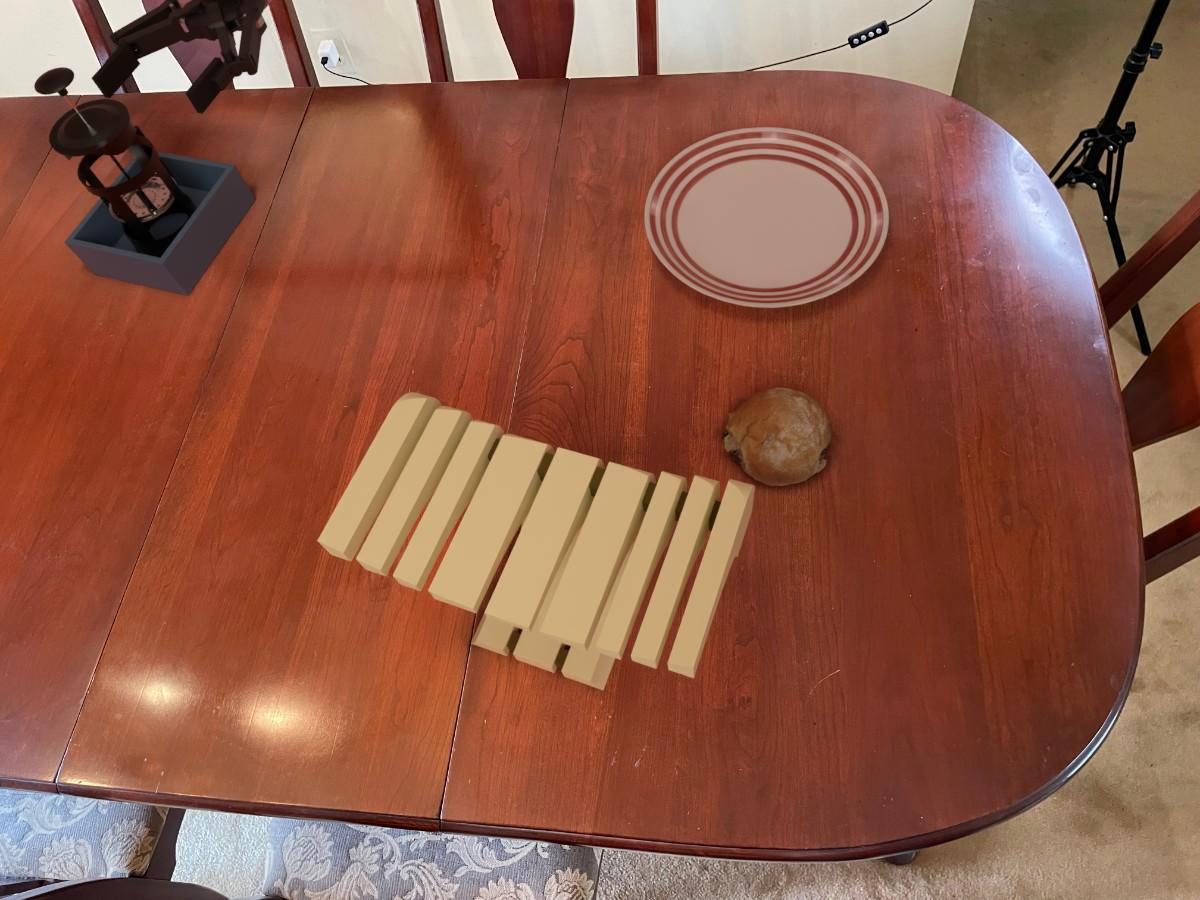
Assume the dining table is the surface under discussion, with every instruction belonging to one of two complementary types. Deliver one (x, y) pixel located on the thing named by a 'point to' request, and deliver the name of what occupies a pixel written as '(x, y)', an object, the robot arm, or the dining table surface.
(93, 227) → the open box
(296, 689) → the dining table surface
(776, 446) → the bread roll
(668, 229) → the dinner plate
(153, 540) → the dining table surface
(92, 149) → the french press
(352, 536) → the slatted curved stool
